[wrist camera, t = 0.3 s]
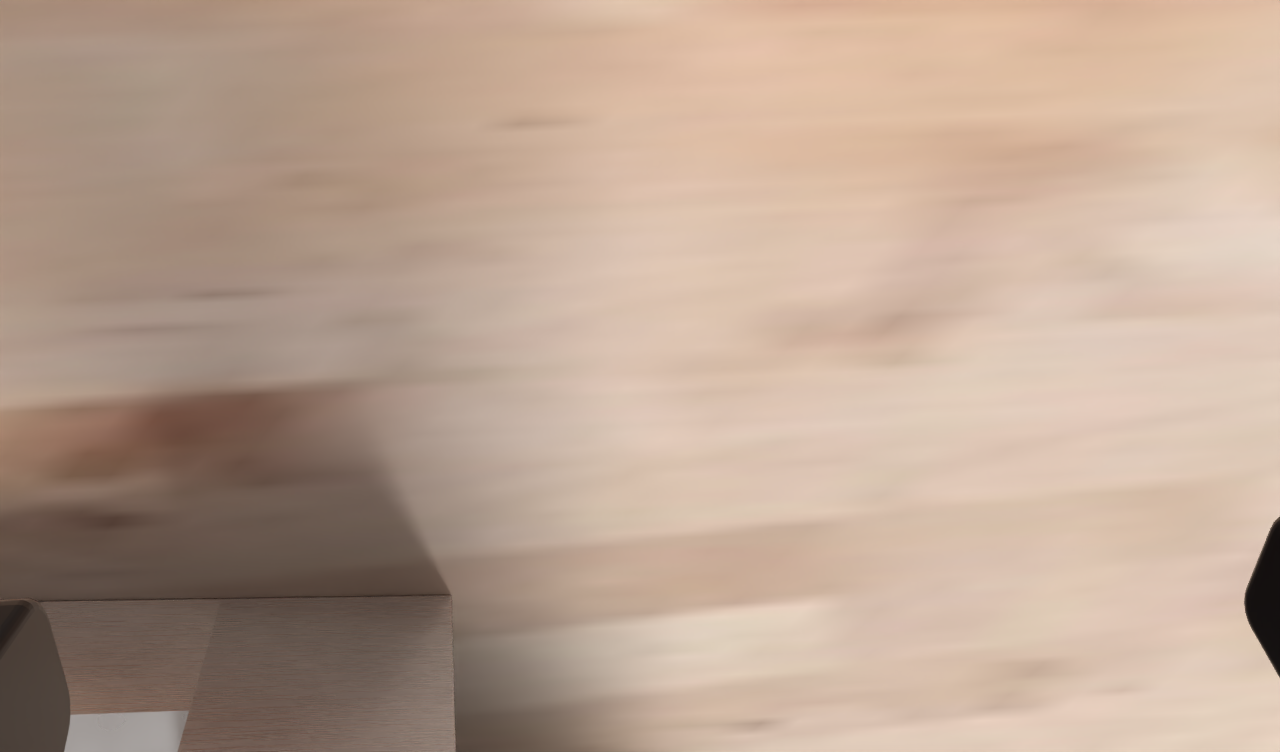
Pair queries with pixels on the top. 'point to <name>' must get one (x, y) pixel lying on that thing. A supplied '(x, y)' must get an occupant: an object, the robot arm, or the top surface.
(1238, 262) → the top surface
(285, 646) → the silver disc stand
